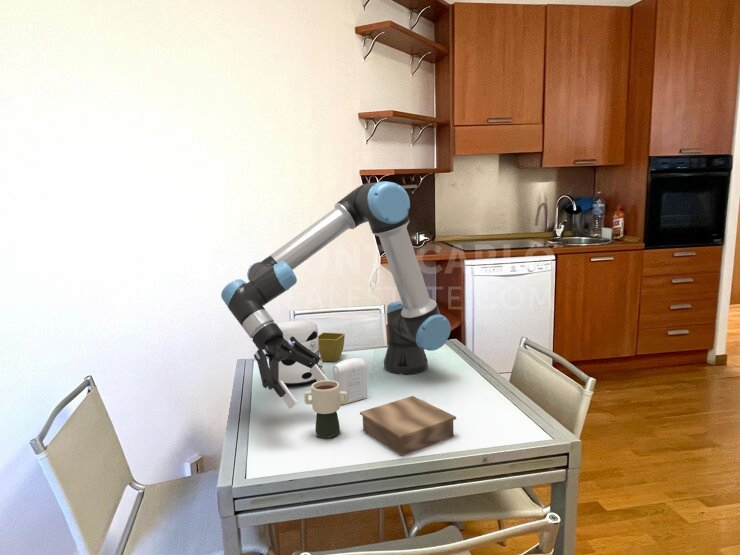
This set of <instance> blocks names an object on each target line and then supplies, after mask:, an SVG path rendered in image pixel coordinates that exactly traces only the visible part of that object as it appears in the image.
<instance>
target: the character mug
mask: <svg viewBox="0 0 740 555" xmlns="http://www.w3.org/2000/svg"><path fill="white" fill-rule="evenodd" d="M310 386H311V388H310V389H311V391H304V393H303V396H304V404H306V405H312V406H311V407H312V411H313V412H315V413H316V418H315V434H316V436H318V437H321V438H331V437H335V436H336V435H338V434H339V433H340V432H341V426H340V420H339V415H338V411H339V410H340V408H341V406H342V405H348V404H349V403H348V394H347V392H340V386H339V383H338V382H337V381H334V380H333V379H332V380H331V379H328V380H322V381H317V380H316V382H315V381H314V383H312V384H311V385H310ZM340 395H344V401H342V400H340ZM309 396H311V400H309ZM340 404H342V405H340Z"/></svg>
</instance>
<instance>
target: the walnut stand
mask: <svg viewBox="0 0 740 555" xmlns="http://www.w3.org/2000/svg"><path fill="white" fill-rule="evenodd" d="M359 415H361V416H362V428H363V431H362V432H365V433H366V434H367V435H369V436H370V437H372V438H374V439H375V440H377V441H378V442H379V443H381V444H382V445H384V446H386V447H387V448H389V449H390V450H392V451H393V452H395V453H396V454H398V455H399V456H404V454H405V455H407V454H410V453H412V452H415V451H417V449H418V450H420V449H422V448H427V447H428V446H431V445H433V444H436V443H439V442H442V441H444V440H447V439H448V438H451V437H454V421H455V420H457V416H455V415H454V414H451V413H449V412H447V411H445V410H443V409H441V408H439V407H436V406H435V405H432V404H430V403H428V402H427V401H424V400H422V399H420V398H418V397H417V396H414V395H411V396H409V397H403V398H402V399H399V400H398V399H397V400H395V401H392V402H388V403H385V404H381V405H378V406H376V407H371V408H368V409H365V410H362V411H359ZM409 452H410V453H409Z"/></svg>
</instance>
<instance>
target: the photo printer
mask: <svg viewBox="0 0 740 555" xmlns="http://www.w3.org/2000/svg"><path fill="white" fill-rule="evenodd" d="M332 376H333V377H332V378H333V379H332V380H334V381H337V382H338V383H339V386H340V392H347V394H348V403H347V404H349V403H353V402H357V401H361V400H364V399H366V398H368V380H367V379H368V376H367V364H366V360H365V359H363V358H358V357H357V358H355V357H354V358H353V357H352V358H347V359H344V360H341V361H339V362H338V363H336V364H334V365H333V368H332ZM340 400H342V401H344V395H340ZM340 405H341V406H342V405H343V404H340Z"/></svg>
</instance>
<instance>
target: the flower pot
mask: <svg viewBox="0 0 740 555" xmlns="http://www.w3.org/2000/svg"><path fill="white" fill-rule="evenodd" d="M345 335H346V334H345V333H340V332H339V333H338V332H321V333H320V334H318V339H319V352H320V355H321V358H322V362H336V361H338V359H339V358H341V355H342V352H343V351H344V346H345Z"/></svg>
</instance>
